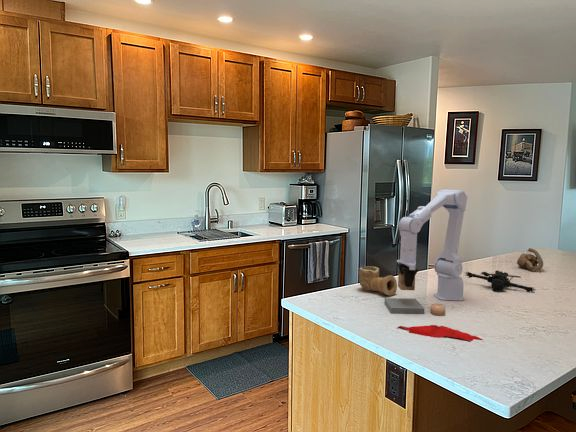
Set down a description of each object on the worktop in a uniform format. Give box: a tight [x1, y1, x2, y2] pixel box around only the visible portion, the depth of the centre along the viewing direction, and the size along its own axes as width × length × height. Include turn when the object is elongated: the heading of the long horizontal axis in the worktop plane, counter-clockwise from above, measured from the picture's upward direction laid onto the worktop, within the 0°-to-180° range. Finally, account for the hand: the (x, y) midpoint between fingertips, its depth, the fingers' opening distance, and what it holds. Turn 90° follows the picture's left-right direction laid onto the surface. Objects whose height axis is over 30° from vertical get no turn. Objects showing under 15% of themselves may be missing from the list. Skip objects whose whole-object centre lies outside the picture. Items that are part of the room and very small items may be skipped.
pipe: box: [358, 265, 398, 297], centre depth 181 cm, size 9×16×10 cm, turn 45°
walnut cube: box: [397, 273, 416, 291], centre depth 161 cm, size 5×5×5 cm
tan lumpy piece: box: [516, 247, 544, 273], centre depth 228 cm, size 13×9×15 cm
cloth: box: [396, 324, 484, 343], centre depth 136 cm, size 26×14×2 cm, turn 58°
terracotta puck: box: [429, 303, 446, 317], centre depth 155 cm, size 5×5×3 cm
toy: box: [464, 270, 536, 293], centre depth 196 cm, size 29×7×30 cm
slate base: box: [383, 297, 426, 315], centre depth 160 cm, size 12×12×2 cm
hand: (406, 284), depth 161 cm, fingers closed on walnut cube, 5 cm apart
